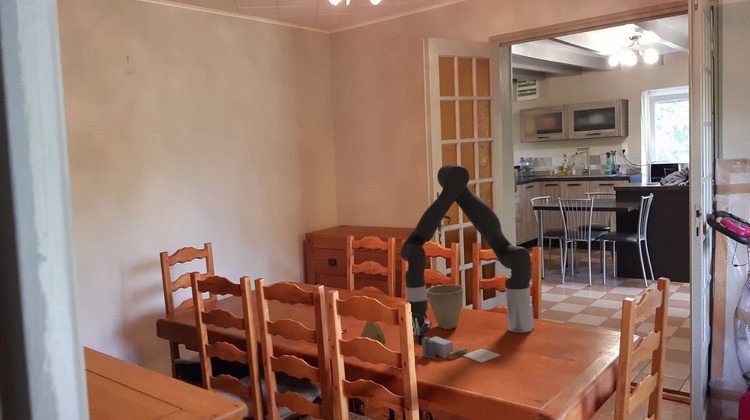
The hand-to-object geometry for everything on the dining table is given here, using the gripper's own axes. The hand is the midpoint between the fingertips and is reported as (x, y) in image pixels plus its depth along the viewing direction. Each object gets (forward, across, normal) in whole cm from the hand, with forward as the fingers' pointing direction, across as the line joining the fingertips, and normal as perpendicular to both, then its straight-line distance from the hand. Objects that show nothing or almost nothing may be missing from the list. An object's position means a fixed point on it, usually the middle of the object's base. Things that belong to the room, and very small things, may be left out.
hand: (420, 344), depth 206 cm
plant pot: (+4, +17, -27) cm, 32 cm away
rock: (+4, +22, +7) cm, 23 cm away
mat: (+4, -18, -13) cm, 22 cm away
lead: (+4, -5, -5) cm, 8 cm away
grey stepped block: (+4, -6, 0) cm, 7 cm away
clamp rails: (+4, -5, -7) cm, 10 cm away
